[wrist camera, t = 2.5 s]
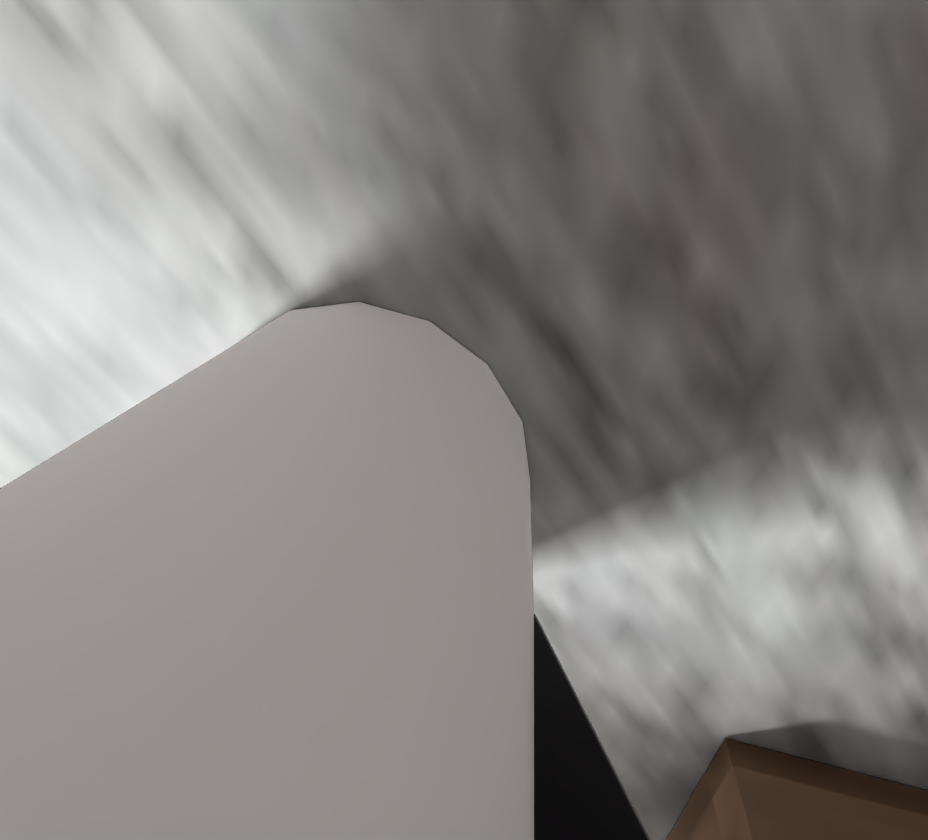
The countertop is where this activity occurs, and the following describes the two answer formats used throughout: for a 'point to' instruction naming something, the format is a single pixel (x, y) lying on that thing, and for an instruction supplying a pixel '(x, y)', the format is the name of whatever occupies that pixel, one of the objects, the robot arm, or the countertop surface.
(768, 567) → the countertop surface
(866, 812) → the walnut tray
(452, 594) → the white cylinder
